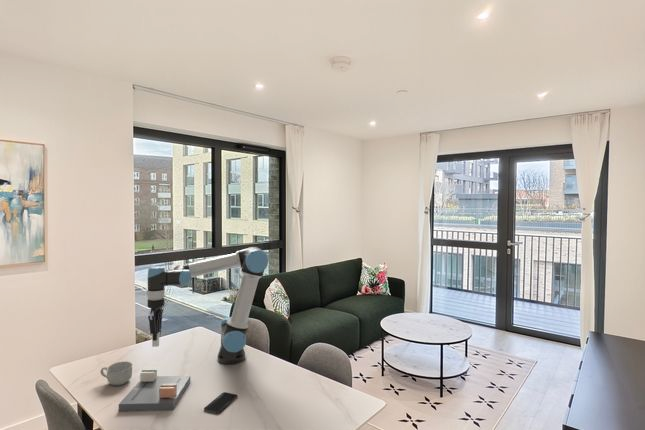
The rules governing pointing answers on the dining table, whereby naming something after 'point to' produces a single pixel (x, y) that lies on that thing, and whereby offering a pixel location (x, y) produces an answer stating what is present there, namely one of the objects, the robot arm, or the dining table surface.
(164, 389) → the fader terracotta
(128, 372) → the teacup
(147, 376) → the block
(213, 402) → the phone
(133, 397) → the console
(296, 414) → the dining table surface
